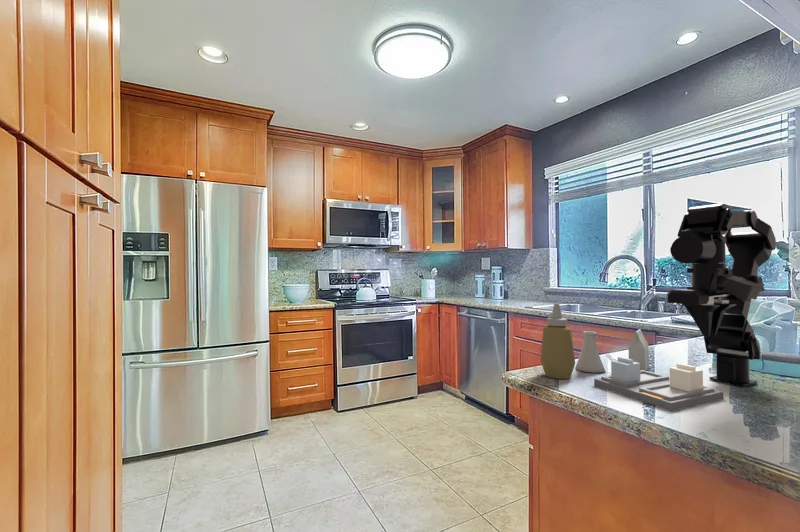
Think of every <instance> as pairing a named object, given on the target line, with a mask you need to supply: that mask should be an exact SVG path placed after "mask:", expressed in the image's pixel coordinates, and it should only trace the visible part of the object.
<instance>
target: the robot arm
mask: <svg viewBox="0 0 800 532" xmlns="http://www.w3.org/2000/svg"><path fill="white" fill-rule="evenodd" d="M738 228H751V229H752V231H746V232H745V231H743V232H735V233H732V229H738ZM776 245H777V240H776V235H775V233H774V231H773V228H772V226H771V225H770V224H768V223H767V222H765V221H763V220H761V218H759V217H758V215H757V213H756V211H755V210H750V209H748V210H737V209H732V207H731V206H730V205H728V204H726V203H716V204H708V205H701V206H693V207H689V208H688V209H687V212H685V213H684V215H683V218H682V220H681V223H680V226H679V230H678V233H677V238H676V239H675V240H673V242H672V244H671V247H670V249H669V252H670V255H671V257H672V258H673V259H674V260H675V261H676V262H678V263H681V264H691V268H690V267H687V268H686V274H691V286H687V287H686V288H687V289H683V288H681V289H680V288H679V289H678V288H677V289H670V290H669V292H667V293H666V303H667V304H668V303H669V304H681V305H682V306H683V307H685V309H686V310H687V312H688V314H689V315H690V316H691V318H692V319H693V320H694V321H693V322H694V323H695V324H696V327H697V328H698V330H699V331H700V333H701V334H702V336H703V340H704V345H705V346H704V347H705V350H706V351H705V353H706V354H714V355H715V356H716V358H715V359H716V375H714V376H713V375H712V376H708V377H709V379H708V380H711V381H715V382H720V383H724V384H728V385H732V386H736V387H740V388H743V387H747V386H752V385H758V381H757V380H753V379H750V361H754V360H761V359H762V355H761V354H762V351H761V349H762V348H761V346H760V344H759V342H758V340H757V337H756V334H755V331H754V328H753V326H752V325H751V323H750V322H749V320H748V317H749V316H748V315H749V312H750V306H751V302H752V300H755V301H756V300H757V298H758V296H759V295H760V292H761V293H762V292H764V291H765V290H766V289H765V287H764V286H765V284H764V283H763V277H761V276H758V275H757V274H758V271H759V267H761V266H762V265H763V264H764V263H767V261H769V260H770V258H771V255H772V253H773V251H774V250H775V249H776ZM726 248H727V250H728V252H729V254H730V256H731V257H732V260H733V261H732V262H733V264H732V267H726V266H727V265H726V264H727V263H726V261H727V260H726V257H727V256H726Z"/></svg>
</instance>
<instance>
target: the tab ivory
mask: <svg viewBox="0 0 800 532" xmlns="http://www.w3.org/2000/svg"><path fill="white" fill-rule="evenodd" d="M703 376H704V371H703V369H700V368H697V367H696V366H693V365H689V364H683V363H679V362H678V363H676V366H673V367H669V378H670V387H673V388H676V389H680V390H684V391H687V392H689V391H694V390H699V389H703V385H704V377H703Z"/></svg>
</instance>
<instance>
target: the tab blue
mask: <svg viewBox="0 0 800 532" xmlns="http://www.w3.org/2000/svg"><path fill="white" fill-rule="evenodd" d="M610 371H611V373H610V375H611V378H612V379H615V380H618V381H622V382H625V383H627V382H633V381H638V380H641V379H640V363H637V362H633V360H631V359H629V358H627V357H622V356H617V359H616V360H611V361H610Z"/></svg>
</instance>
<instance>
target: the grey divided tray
mask: <svg viewBox="0 0 800 532" xmlns="http://www.w3.org/2000/svg"><path fill="white" fill-rule="evenodd" d="M640 379H641V380H638V381H633V382H627V383H625V382H622V381H618V380H615V379H612V378H611V374H610V375H603V376H600V377H596V378H594V379H593V380H594V381H593V382H594V383H593V386H595V385H596V387H598V386H599V387H598V388H601V387H602V388H601V389H604V388H605V390H607V389H608V390H607V391H610V390H611V391H610V392H613V391H614V393H616V392H617V393H616V394H619V393H620V394H619V395H622V394H623V395H622V396H625V395H626V396H625V397H628V396H629V397H628V398H631V397H632V399H634V398H635V399H634V400H638V401H640V402H643V403H646V404H649V405H652V406H654V405H655V406H654V407H657V406H658V408H660V407H661V408H660V409H663V408H664V409H663V410H667V411H668V412H669V411H670V412H673V411H677V410H682V409H686V408H690V407H695V406H700V405H705V404H708V403H713V402H717V401H721V400H724V398H725V397H724V391H721V390H718V389H716V388H714V387H712V386H707V385H704V384H703V389H699V390H694V391H689V392H687V391H684V390H680V389H676V388H673V387H670V376H667V375H664V374H659V373H656V372H654V371H649V370H647V371H645V370H640Z"/></svg>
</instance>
